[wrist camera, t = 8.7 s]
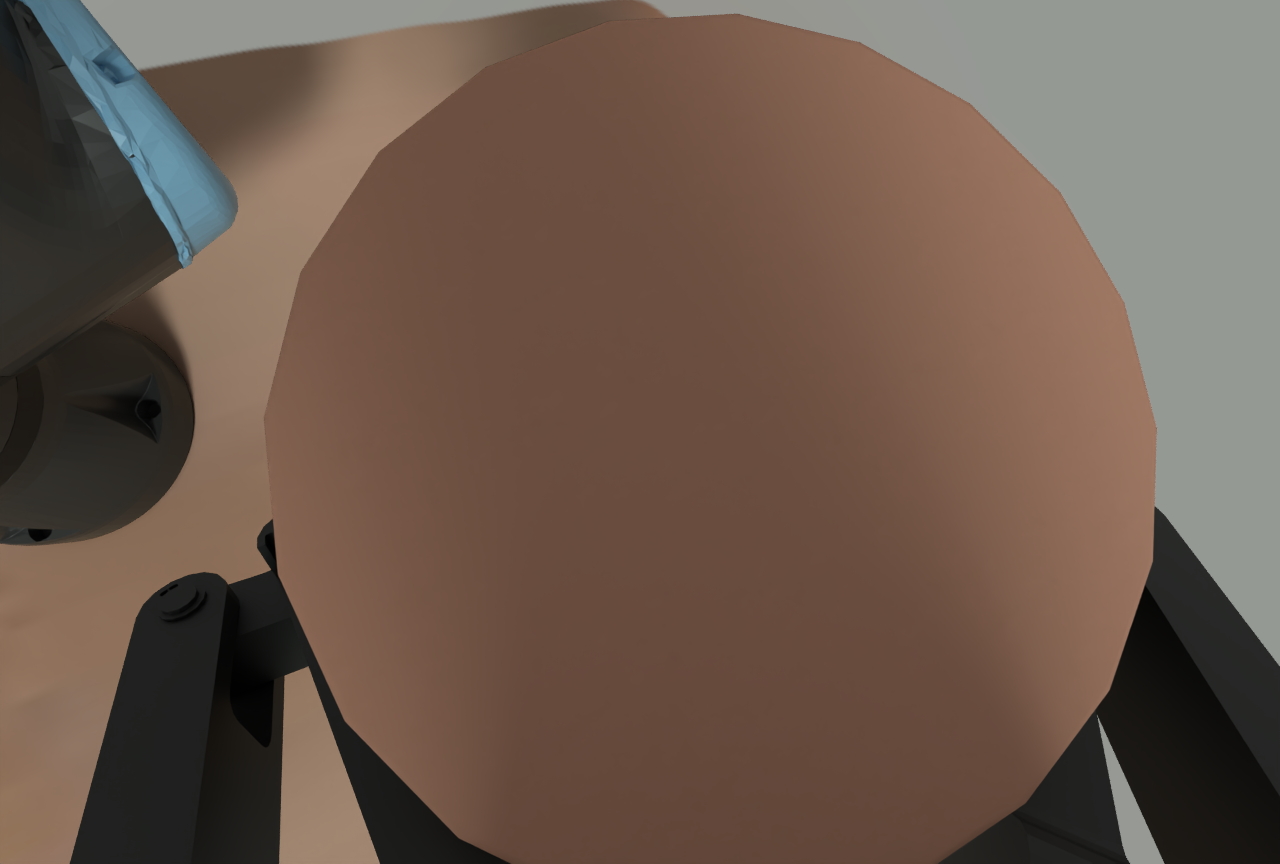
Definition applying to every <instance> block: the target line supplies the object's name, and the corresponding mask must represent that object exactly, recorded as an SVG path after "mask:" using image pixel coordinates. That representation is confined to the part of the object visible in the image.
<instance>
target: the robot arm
mask: <svg viewBox="0 0 1280 864" xmlns="http://www.w3.org/2000/svg"><path fill="white" fill-rule="evenodd" d="M237 199H238V198H237V195H236V192H235V190H234V188H233V186H232V184H231V183H230V181H229V180H228V179H227V178H226V176H225V175H224V174H223V173H222V171H221V170H220V169H219V168H218V167H217V165H216V164H215V163H214V162H213V161H212V159H211V158H210V157H209V156H208V155H207V153H206V152H205V151H204V150H203V148H202V147H201V146H200V145H199V144H198V142H197V141H196V140H195V139H194V138H193V136H192V135H191V134H190V133H189V132H188V130H187V129H186V128H185V127H184V126H183V124H182V123H181V122H180V121H179V120H178V118H177V117H176V116H175V115H174V114H173V112H172V111H171V110H170V109H169V108H168V106H167V105H166V104H165V103H164V102H163V100H162V99H161V98H160V97H159V96H158V94H157V93H156V92H155V91H154V90H153V88H152V87H151V86H150V85H149V83H148V82H147V81H146V80H145V79H144V77H143V76H142V75H141V74H140V73H139V71H138V70H137V69H136V68H135V67H134V65H133V64H132V63H131V62H130V60H129V59H128V58H127V57H126V56H125V54H124V53H123V52H122V51H121V50H120V48H119V47H118V46H117V45H116V43H115V42H114V41H113V40H112V39H111V37H110V36H109V35H108V34H107V33H106V32H105V30H104V29H103V28H102V27H101V26H100V24H99V23H98V22H97V21H96V19H95V18H94V17H93V16H92V14H91V13H90V12H89V11H88V10H87V8H86V7H85V6H84V5H83V3H82V2H81V1H80V0H0V544H8V545H24V546H36V545H49V544H59V543H69V542H77V541H83V540H88V539H92V538H96V537H99V536H102V535H105V534H108V533H111V532H113V531H115V530H117V529H120V528H122V527H124V526H125V525H127V524H129V523H131V522H132V521H134V520H136V519H137V518H139V517H140V516H141V515H143V514H144V513H145V512H147V511H148V510H149V509H150V508H152V507H153V506H154V505H155V504H156V503H157V502H158V501H159V500H160V499H161V498H162V497H163V496H164V494H165V493H166V492H167V491H168V490H169V488H170V487H171V485H172V484H173V483H174V481H175V480H176V478H177V476H178V475H179V473H180V471H181V469H182V467H183V465H184V462H185V460H186V458H187V455H188V452H189V448H190V444H191V439H192V433H193V410H192V403H191V399H190V395H189V391H188V389H187V386H186V383H185V381H184V379H183V377H182V375H181V373H180V372H179V370H178V368H177V367H176V365H175V364H174V363H173V362H172V360H171V359H170V358H169V357H168V356H167V355H166V353H165V352H164V351H162V350H161V349H160V348H159V347H158V346H157V345H156V344H154V343H153V342H152V341H150V340H149V339H147V338H146V337H144V336H142V335H141V334H139V333H137V332H135V331H133V330H130V329H128V328H125V327H123V326H120V325H117V324H114V323H112V322H109V321H106V320H103V319H104V318H106V317H107V316H109V315H110V314H112V313H113V312H115V311H117V310H118V309H120V308H121V307H123V306H124V305H126V304H127V303H129V302H130V301H132V300H133V299H135V298H136V297H138V296H139V295H141V294H142V293H144V292H146V291H147V290H149V289H150V288H152V287H153V286H155V285H156V284H158V283H159V282H161V281H162V280H164V279H165V278H167V277H168V276H170V275H171V274H173V273H174V272H176V271H178V270H179V269H181V268H183V269H184V268H185V267H187V266H188V265H190V264H191V263H192V261H193V256H195V255H196V254H197V253H199V252H200V251H201V250H202V249H204V248H205V247H206V246H207V245H209V244H210V243H211V242H212V241H214V240H215V239H216V238H217V237H219V236H220V235H221V234H223V233H224V232H225V231H226V230H228V229H229V228H230V227H231V226H232V224H233V222H234V220H235V216H236V214H237V212H238V202H237ZM257 548H258V550H259V552H260V553H261V555H262V556H263V558H264V559H265V561H266V562H267V564H268V565H269V567H270V568H271V570H270V571H268V572H265V573H263V574H260V575H257V576H254V577H251V578H248V579H244V580H241V581H238V582H235V583H232V584H229V585H228V584H227V582H226V581H225V580H224V579H223V578H222V577H220V576H219V575H218V574H213V573H206V572H203V573H197V574H191V575H187V576H185V577H182V578H180V579H177V580H175V581H172V582H170V583H169V584H167V585H166V586H164V587H163V588H161V589H160V590H158V591H157V592H155V593H154V594H153V595H152V596H151V597H150V598H149V599H148V600H147V601H146V602H145V603H144V604H143V606H142V608H141V610H140V612H139V613H138V615H137V617H136V621H135V624H134V628H133V632H132V635H131V639H130V643H129V646H128V650H127V654H126V658H125V661H124V665H123V669H122V672H121V676H120V680H119V683H118V687H117V691H116V695H115V698H114V702H113V706H112V709H111V713H110V717H109V720H108V724H107V728H106V732H105V735H104V739H103V743H102V746H101V750H100V754H99V757H98V761H97V765H96V769H95V772H94V776H93V780H92V783H91V787H90V791H89V794H88V798H87V802H86V806H85V809H84V813H83V817H82V820H81V824H80V828H79V831H78V835H77V839H76V843H75V846H74V850H73V854H72V857H71V861H70V864H279V847H280V813H281V778H282V744H283V710H284V676H285V675H287V674H290V673H292V672H295V671H297V670H300V669H302V668H305V667H308V666H309V669H310V671H311V674H312V677H313V680H314V682H315V685H316V688H317V691H318V694H319V696H320V699H321V702H322V705H323V707H324V710H325V713H326V716H327V718H328V721H329V724H330V727H331V729H332V732H333V735H334V738H335V740H336V743H337V746H338V749H339V751H340V754H341V757H342V760H343V763H344V765H345V768H346V771H347V774H348V776H349V779H350V782H351V785H352V787H353V790H354V793H355V796H356V798H357V801H358V804H359V807H360V809H361V812H362V815H363V818H364V820H365V823H366V826H367V829H368V831H369V834H370V837H371V840H372V843H373V845H374V848H375V851H376V854H377V856H378V859H379V862H380V864H511V863H509V862H507V861H505V860H503V859H501V858H499V857H497V856H494V855H492V854H490V853H488V852H486V851H484V850H482V849H480V848H478V847H476V846H474V845H472V844H470V843H468V842H465V841H463V840H461V839H459V838H458V837H457V836H456V835H455V834H454V833H453V832H452V831H451V830H450V829H449V828H448V827H447V826H446V825H445V824H444V823H443V822H442V821H441V819H440V818H439V817H438V816H437V815H436V814H435V813H434V812H433V811H432V810H431V809H430V808H429V807H428V806H427V805H426V804H425V803H424V802H423V801H422V800H421V799H420V798H419V797H418V796H417V795H416V794H415V793H414V792H413V791H412V790H411V789H410V788H409V787H408V786H407V785H406V784H405V782H404V781H403V780H402V779H401V778H400V777H399V776H398V775H397V774H396V773H395V772H394V771H393V770H392V769H391V768H390V767H389V766H388V765H387V764H386V763H385V762H384V761H383V760H382V759H381V758H380V757H379V756H378V755H377V754H376V753H375V752H374V751H373V750H372V749H371V748H370V747H369V745H368V744H367V743H366V742H365V741H364V740H363V739H362V738H361V737H360V736H359V735H358V734H357V733H356V732H355V731H354V730H353V729H352V728H351V727H350V726H349V725H348V724H347V723H346V722H345V720H344V718H343V716H342V714H341V712H340V709H339V707H338V705H337V703H336V701H335V698H334V696H333V694H332V692H331V690H330V687H329V685H328V683H327V681H326V679H325V676H324V674H323V672H322V670H321V668H320V665H319V663H318V661H317V659H316V657H315V655H314V652H313V650H312V648H311V646H310V644H309V641H308V639H307V637H306V635H305V633H304V630H303V628H302V626H301V624H300V622H299V619H298V617H297V615H296V613H295V611H294V608H293V606H292V604H291V602H290V600H289V597H288V595H287V593H286V591H285V589H284V587H283V584H282V582H281V580H280V578H279V576H278V570H277V559H276V548H275V536H274V525H273V519H272V520H271V521H270V522H269V523H267V524H266V525H265V526H264V527H263V529H262V531H261V532H260V534H259V536H258V538H257ZM1097 715H1098V718H1099V720H1100V722H1101V724H1102V726H1103V729H1104V731H1105V733H1106V735H1107V737H1108V739H1109V742H1110V744H1111V746H1112V748H1113V751H1114V753H1115V755H1116V757H1117V760H1118V762H1119V764H1120V766H1121V768H1122V771H1123V773H1124V775H1125V777H1126V779H1127V782H1128V784H1129V786H1130V788H1131V790H1132V793H1133V795H1134V797H1135V799H1136V802H1137V804H1138V806H1139V808H1140V810H1141V812H1142V815H1143V817H1144V819H1145V821H1146V824H1147V826H1148V828H1149V830H1150V832H1151V835H1152V837H1153V839H1154V841H1155V843H1156V846H1157V848H1158V850H1159V852H1160V855H1161V857H1162V859H1163V861H1164V863H1165V864H1280V666H1279V665H1278V664H1277V662H1276V661H1275V660H1274V658H1273V657H1272V656H1271V654H1270V653H1269V652H1268V651H1267V649H1266V648H1265V647H1264V645H1263V644H1262V643H1261V642H1260V640H1259V639H1258V638H1257V636H1256V635H1255V633H1254V632H1253V631H1252V630H1251V628H1250V627H1249V626H1248V624H1247V623H1246V622H1245V620H1244V619H1243V618H1242V616H1241V615H1240V614H1239V612H1238V611H1237V610H1236V609H1235V607H1234V606H1233V605H1232V603H1231V602H1230V601H1229V599H1228V598H1227V597H1226V595H1225V594H1224V593H1223V591H1222V590H1221V589H1220V587H1219V586H1218V585H1217V583H1216V582H1215V581H1214V580H1213V578H1212V577H1211V576H1210V574H1209V573H1208V572H1207V570H1206V569H1205V568H1204V566H1203V565H1202V564H1201V562H1200V561H1199V560H1198V558H1197V557H1196V556H1195V555H1194V553H1193V552H1192V551H1191V549H1190V548H1189V547H1188V545H1187V544H1186V543H1185V542H1184V540H1183V539H1182V537H1181V536H1180V535H1179V534H1178V532H1177V531H1176V530H1175V529H1174V527H1173V526H1172V524H1171V523H1170V522H1169V520H1168V519H1167V518H1166V516H1165V515H1164V514H1163V513H1162V512H1161V511H1159V509H1157V508H1156V507H1155V506H1154V539H1153V562H1152V565H1151V568H1150V571H1149V574H1148V577H1147V580H1146V583H1145V586H1144V589H1143V592H1142V595H1141V598H1140V601H1139V604H1138V607H1137V610H1136V613H1135V616H1134V619H1133V622H1132V625H1131V628H1130V631H1129V634H1128V637H1127V640H1126V642H1125V645H1124V648H1123V651H1122V654H1121V657H1120V660H1119V663H1118V666H1117V669H1116V672H1115V675H1114V678H1113V681H1112V684H1111V687H1110V690H1109V692H1108V693H1107V694H1106V696H1105V697H1104V698H1103V700H1102V701H1101V702H1100V704H1099V705H1098V706H1097V708H1096V709H1095V710H1094V712H1093V713H1092V714H1091V716H1090V717H1089V718H1088V720H1087V721H1086V723H1085V724H1084V725H1083V727H1082V728H1081V729H1080V731H1079V732H1078V733H1077V735H1076V736H1075V737H1074V739H1073V740H1072V741H1071V743H1070V744H1069V745H1068V747H1067V748H1066V750H1065V751H1064V752H1063V754H1062V755H1061V756H1060V758H1059V759H1058V760H1057V762H1056V763H1055V764H1054V766H1053V767H1052V768H1051V770H1050V771H1049V772H1048V774H1047V775H1046V776H1045V778H1044V779H1043V781H1042V782H1041V783H1040V785H1039V786H1038V787H1037V789H1036V790H1035V791H1034V793H1033V794H1032V795H1031V797H1030V798H1029V799H1028V801H1027V802H1026V803H1025V804H1024V805H1022V806H1021V807H1019V808H1018V809H1016V810H1015V811H1013V812H1012V813H1011V814H1009V815H1008V816H1006V817H1005V818H1003V819H1002V820H1000V821H999V822H997V823H996V824H995V825H993V826H992V827H990V828H989V829H987V830H986V831H984V832H983V833H981V834H980V835H978V836H977V837H976V838H974V839H973V840H971V841H970V842H968V843H967V844H965V845H964V846H962V847H961V848H960V849H958V850H957V851H955V852H954V853H952V854H951V855H949V856H948V857H946V858H945V859H944V860H942V861H941V862H939V863H938V864H1130V863H1129V861H1128V860H1127V858H1126V856H1125V852H1124V849H1123V846H1122V841H1121V836H1120V831H1119V826H1118V820H1117V815H1116V811H1115V805H1114V800H1113V795H1112V790H1111V784H1110V779H1109V774H1108V769H1107V764H1106V759H1105V754H1104V748H1103V744H1102V738H1101V733H1100V728H1099V723H1098V718H1097Z"/></svg>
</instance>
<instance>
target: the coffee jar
mask: <svg viewBox="0 0 1280 864" xmlns="http://www.w3.org/2000/svg"><path fill="white" fill-rule="evenodd" d="M264 424H265V435H266V446H267V458H268V469H269V480H270V491H271V503H272V514H273V525H274V536H275V548H276V559H277V570H278V576H279V578H280V580H281V582H282V584H283V587H284V589H285V591H286V593H287V595H288V597H289V600H290V602H291V604H292V606H293V608H294V611H295V613H296V615H297V617H298V619H299V622H300V624H301V626H302V628H303V630H304V633H305V635H306V637H307V639H308V641H309V644H310V646H311V648H312V650H313V652H314V655H315V657H316V659H317V661H318V663H319V665H320V668H321V670H322V672H323V674H324V676H325V679H326V681H327V683H328V685H329V687H330V690H331V692H332V694H333V696H334V698H335V701H336V703H337V705H338V707H339V709H340V712H341V714H342V716H343V718H344V720H345V722H346V723H347V724H348V725H349V726H350V727H351V728H352V729H353V730H354V731H355V732H356V733H357V734H358V735H359V736H360V737H361V738H362V739H363V740H364V741H365V742H366V743H367V744H368V745H369V747H370V748H371V749H372V750H373V751H374V752H375V753H376V754H377V755H378V756H379V757H380V758H381V759H382V760H383V761H384V762H385V763H386V764H387V765H388V766H389V767H390V768H391V769H392V770H393V771H394V772H395V773H396V774H397V775H398V776H399V777H400V778H401V779H402V780H403V781H404V782H405V784H406V785H407V786H408V787H409V788H410V789H411V790H412V791H413V792H414V793H415V794H416V795H417V796H418V797H419V798H420V799H421V800H422V801H423V802H424V803H425V804H426V805H427V806H428V807H429V808H430V809H431V810H432V811H433V812H434V813H435V814H436V815H437V816H438V817H439V818H440V819H441V821H442V822H443V823H444V824H445V825H446V826H447V827H448V828H449V829H450V830H451V831H452V832H453V833H454V834H455V835H456V836H457V837H458V838H459V839H461V840H463V841H465V842H468V843H470V844H472V845H474V846H476V847H478V848H480V849H482V850H484V851H486V852H488V853H490V854H492V855H494V856H497V857H499V858H501V859H503V860H505V861H507V862H509V863H511V864H938V863H939V862H941V861H942V860H944V859H945V858H946V857H948V856H949V855H951V854H952V853H954V852H955V851H957V850H958V849H960V848H961V847H962V846H964V845H965V844H967V843H968V842H970V841H971V840H973V839H974V838H976V837H977V836H978V835H980V834H981V833H983V832H984V831H986V830H987V829H989V828H990V827H992V826H993V825H995V824H996V823H997V822H999V821H1000V820H1002V819H1003V818H1005V817H1006V816H1008V815H1009V814H1011V813H1012V812H1013V811H1015V810H1016V809H1018V808H1019V807H1021V806H1022V805H1024V804H1025V803H1026V802H1027V801H1028V799H1029V798H1030V797H1031V795H1032V794H1033V793H1034V791H1035V790H1036V789H1037V787H1038V786H1039V785H1040V783H1041V782H1042V781H1043V779H1044V778H1045V776H1046V775H1047V774H1048V772H1049V771H1050V770H1051V768H1052V767H1053V766H1054V764H1055V763H1056V762H1057V760H1058V759H1059V758H1060V756H1061V755H1062V754H1063V752H1064V751H1065V750H1066V748H1067V747H1068V745H1069V744H1070V743H1071V741H1072V740H1073V739H1074V737H1075V736H1076V735H1077V733H1078V732H1079V731H1080V729H1081V728H1082V727H1083V725H1084V724H1085V723H1086V721H1087V720H1088V718H1089V717H1090V716H1091V714H1092V713H1093V712H1094V710H1095V709H1096V708H1097V706H1098V705H1099V704H1100V702H1101V701H1102V700H1103V698H1104V697H1105V696H1106V694H1107V693H1108V692H1109V690H1110V687H1111V684H1112V681H1113V678H1114V675H1115V672H1116V669H1117V666H1118V663H1119V660H1120V657H1121V654H1122V651H1123V648H1124V645H1125V642H1126V640H1127V637H1128V634H1129V631H1130V628H1131V625H1132V622H1133V619H1134V616H1135V613H1136V610H1137V607H1138V604H1139V601H1140V598H1141V595H1142V592H1143V589H1144V586H1145V583H1146V580H1147V577H1148V574H1149V571H1150V568H1151V565H1152V562H1153V539H1154V504H1155V502H1154V501H1155V468H1156V434H1157V428H1156V424H1155V420H1154V416H1153V413H1152V409H1151V405H1150V401H1149V397H1148V393H1147V389H1146V385H1145V381H1144V378H1143V374H1142V370H1141V366H1140V363H1139V359H1138V354H1137V351H1136V347H1135V343H1134V339H1133V335H1132V331H1131V327H1130V323H1129V320H1128V316H1127V312H1126V308H1125V304H1124V302H1123V300H1122V298H1121V296H1120V295H1119V293H1118V291H1117V290H1116V288H1115V286H1114V285H1113V283H1112V281H1111V279H1110V277H1109V276H1108V274H1107V272H1106V271H1105V269H1104V268H1103V265H1102V264H1101V262H1100V260H1099V258H1098V257H1097V255H1096V253H1095V252H1094V250H1093V248H1092V247H1091V245H1090V243H1089V241H1088V239H1087V238H1086V236H1085V235H1084V233H1083V231H1082V229H1081V228H1080V226H1079V224H1078V222H1077V221H1076V219H1075V217H1074V215H1073V214H1072V212H1071V210H1070V208H1069V207H1068V205H1067V203H1066V202H1065V200H1064V198H1063V196H1062V195H1061V193H1060V192H1059V191H1058V190H1057V189H1056V188H1055V187H1054V186H1053V185H1052V184H1051V183H1050V182H1049V181H1048V180H1047V179H1046V178H1045V177H1044V176H1043V175H1042V174H1041V173H1040V172H1039V171H1038V170H1037V169H1036V168H1035V167H1034V166H1033V165H1032V164H1031V163H1030V162H1029V161H1028V160H1027V159H1026V158H1025V157H1024V156H1023V155H1022V154H1021V153H1019V151H1018V150H1017V149H1016V148H1015V147H1014V146H1012V144H1011V143H1010V142H1008V141H1007V139H1005V138H1004V137H1003V136H1002V135H1001V134H1000V133H999V132H998V131H997V130H996V129H995V128H994V127H993V126H992V125H991V124H990V123H989V122H988V121H987V120H986V119H985V118H984V117H983V116H982V115H981V114H980V113H979V112H978V111H977V110H976V109H975V108H974V107H973V106H972V105H971V104H970V103H968V102H966V101H964V100H962V99H961V98H959V97H957V96H955V95H954V94H952V93H950V92H948V91H946V90H944V89H943V88H941V87H939V86H937V85H936V84H934V83H932V82H930V81H928V80H927V79H925V78H923V77H921V76H919V75H918V74H916V73H914V72H912V71H910V70H908V69H907V68H905V67H903V66H901V65H900V64H898V63H896V62H894V61H892V60H891V59H888V58H887V57H885V56H883V55H882V54H880V53H878V52H876V51H874V50H873V49H871V48H869V47H867V46H865V45H863V44H862V43H860V42H855V41H851V40H847V39H843V38H838V37H834V36H830V35H826V34H821V33H817V32H813V31H809V30H804V29H800V28H796V27H791V26H787V25H783V24H779V23H774V22H769V21H766V20H761V19H757V18H753V17H749V16H744V15H740V14H725V15H709V16H708V15H707V16H690V17H672V18H655V19H638V20H621V21H608V22H605V23H603V24H600V25H597V26H595V27H592V28H589V29H587V30H584V31H581V32H579V33H576V34H573V35H571V36H568V37H565V38H563V39H560V40H557V41H555V42H552V43H549V44H547V45H544V46H541V47H539V48H536V49H533V50H531V51H528V52H525V53H523V54H520V55H517V56H515V57H512V58H509V59H506V60H504V61H501V62H498V63H496V64H493V65H490V66H488V67H485V68H484V69H483V70H482V71H480V72H479V73H478V74H477V75H475V76H474V77H473V78H472V79H470V80H469V81H468V82H467V83H465V84H464V85H463V86H461V87H460V88H459V89H458V90H456V91H455V92H454V93H453V94H451V95H450V96H449V97H448V98H446V99H445V100H444V101H443V102H441V103H440V104H439V105H438V106H436V107H435V108H434V109H432V110H431V111H430V112H429V113H427V114H426V115H425V116H424V117H422V118H421V119H420V120H419V121H417V122H416V123H415V124H414V125H412V126H411V127H410V128H409V129H407V130H406V131H405V132H403V133H402V134H401V135H400V136H398V137H397V138H396V139H395V140H393V141H392V142H391V143H390V144H388V145H387V146H386V147H385V148H383V149H382V150H381V151H380V152H379V153H378V154H377V156H376V157H375V159H374V160H373V162H372V163H371V165H370V166H369V168H368V169H367V171H366V172H365V174H364V176H363V177H362V179H361V180H360V182H359V183H358V185H357V186H356V188H355V189H354V191H353V192H352V194H351V195H350V197H349V199H348V200H347V202H346V203H345V205H344V206H343V208H342V209H341V211H340V212H339V214H338V215H337V217H336V219H335V220H334V222H333V223H332V225H331V226H330V228H329V229H328V231H327V232H326V234H325V235H324V237H323V238H322V240H321V242H320V243H319V245H318V246H317V248H316V249H315V251H314V252H313V254H312V255H311V257H310V258H309V260H308V262H307V263H306V265H305V266H304V268H303V269H302V271H301V273H300V277H299V281H298V285H297V289H296V293H295V297H294V300H293V304H292V308H291V312H290V316H289V320H288V324H287V328H286V332H285V336H284V340H283V344H282V348H281V352H280V356H279V360H278V364H277V368H276V372H275V376H274V380H273V384H272V388H271V392H270V396H269V400H268V404H267V408H266V412H265V416H264Z"/></svg>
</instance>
